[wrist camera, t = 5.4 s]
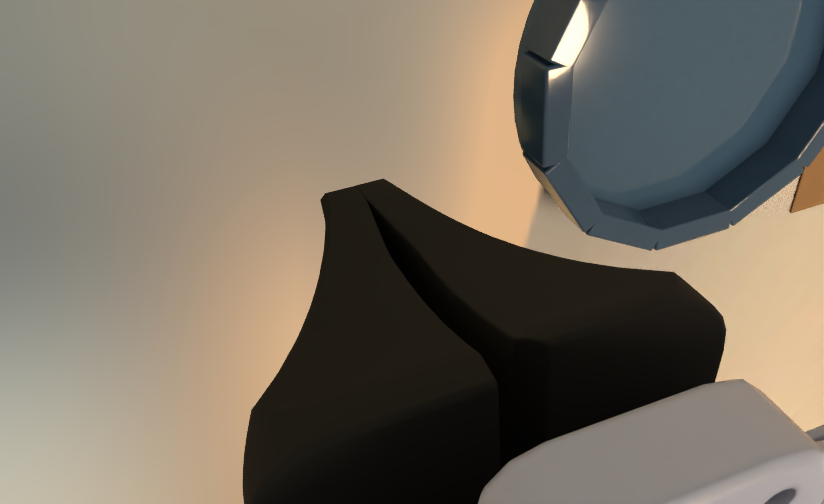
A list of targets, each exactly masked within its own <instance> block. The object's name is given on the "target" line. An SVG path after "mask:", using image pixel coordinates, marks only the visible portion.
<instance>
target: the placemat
mask: <svg viewBox="0 0 824 504" xmlns="http://www.w3.org/2000/svg"><path fill="white" fill-rule="evenodd" d="M823 203H824V147H823V148H822V150H821V151H820V152H819V154H818V155H817V156H816V158H815V159H814V160H813V162H812V163H811V165H810V166H809V167H804V172H803V173H802V176H801V179H800V183H799V186H798V189H797V192H796V196H795V199H794V202H793V205H792V209H791V212H790V213H793V212H797V211H800V210H803V209H806V208H810V207H813V206H816V205H819V204H823Z"/></svg>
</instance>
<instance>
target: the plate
mask: <svg viewBox="0 0 824 504" xmlns="http://www.w3.org/2000/svg"><path fill="white" fill-rule="evenodd" d="M513 98H514V113H515V122H516V127H517V132H518V137H519V142H520V144H521V148H522V150H523V156H524V157H525V159H526V161H527V163H528V164H529V166H530V168H531V170H532V171H533V173H534V175H535V177H536V178H537V179H538V181H539V182H540V183H541V184H542V186H543V187H544V188H545V189H546V190H547V192H549V194H550V195H551V197H552V198H553V200H554V201H555V203H556V204H557V205H558V207H559V208H560V210H561V211H562V212H563V213H564V214H565V215H566V216H567V217H568V218H569V219H570V220H571V221H572V222H573V223H574V224H575V225H576V226H577V227H578V228H579V229H580V230H581V231H583V232H585V233H586V234H587V235H590V236H594V237H598V238H602V239H606V240H610V241H614V242H618V243H622V244H626V245H630V246H634V247H638V248H642V249H646V250H650V251H651V250H652V249H654V250H660V249H663V248H667V247H670V246H673V245H676V244H680V243H683V242H686V241H690V240H693V239H696V238H699V237H703V236H706V235H709V234H712V233H716V232H719V231H722V230H726V229H728V228H729V225H730V224H731V225H732V226H734V225H735V224H737V223H738V222H739V221H741V220H742V219H743V218H745V217H746V216H747V215H748V214H750V213H751V212H752V211H754V210H755V209H756V208H758V207H759V206H760V205H762V204H763V203H764V202H765V201H767V200H768V199H769V198H771V197H772V196H773V195H775V194H776V193H777V192H779V191H780V190H781V189H783V188H784V187H785V186H786V185H788V184H789V183H790V182H792V181H793V180H794V179H796V178H797V177H798V176H800V175H801V174H802V173H803V172H804V170H803V166H804V167H809V166H810V165H811V163H812V162H813V160H814V159H815V158H816V156H817V155H818V154H819V152H820V151H821V150H822V148H823V147H824V0H534V3H533V5H532V7H531V10H530V12H529V15H528V18H527V21H526V24H525V28H524V31H523V34H522V38H521V41H520V45H519V51H518V56H517V62H516V68H515V77H514V95H513Z"/></svg>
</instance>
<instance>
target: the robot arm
mask: <svg viewBox="0 0 824 504" xmlns="http://www.w3.org/2000/svg"><path fill="white" fill-rule="evenodd" d="M321 204H322V209H323V213H324V218H325V224H326V225H325V226H326V229H325V244H324V253H323V259H322V264H321V269H320V275H319V279H318V283H317V287H316V290H315V294H314V297H313V301H312V303H311V306H310V309H309V312H308V314H307V317H306V319H305V322H304V324H303V327H302V329H301V331H300V333H299V336H298V338H297V340H296V342H295V344H294V346H293V347H292V349H291V351H290V353H289V354H288V356H287V358H286V360H285V362H284V363H283V365H282V367H281V369H280V370H279V372H278V374H277V375H276V377H275V378H274V380H273V381H272V382H271V384H270V385H269V387H268V388H267V389H266V391H265V392H264V394H263V395H262V397H261V398H260V399H259V401H258V402H257V403H256V405H255V406H254V407H253V409H252V411H251V415H250V420H249V426H248V432H247V438H246V446H245V453H244V464H243V496H244V504H824V425H822V426H819V427H817V428H814V429H812V430H809V431H807V432H804V431H803V430H802V429H801V428H800V427H799V426H798V425H797V424H796V423H795V422H794V421H793V420H792V419H790V418H789V417H788V416H787V415H786V414H785V413H784V412H783V411H782V410H781V409H780V408H779V407H778V406H777V405H776V404H775V403H774V402H773V401H771V400H770V399H769V398H768V397H767V396H766V395H765V394H764V393H763V392H762V391H761V390H760V389H758V388H756V387H755V386H753V385H751V384H749V383H748V382H746V381H744V380H743V379H742V380H728V381H721V382H715V379H716V376H717V372H718V369H719V365H720V361H721V358H722V354H723V351H724V343H725V336H726V327H725V323H724V319H723V316H722V315H721V314H720V313H719V312H718V310H717V309H716V308H715V307H714V306H713V305H712V304H711V303H710V302H709V301H707V300H706V299H705V298H704V297H703V296H702V295H701V294H699V293H698V292H697V291H696V290H695V289H694V288H693V287H691V286H690V285H689V284H688V283H687V282H686V281H684V280H683V279H682V278H681V277H679V276H678V275H677V274H676V273H674V272H666V271H654V270H641V269H629V268H618V267H611V266H605V265H598V264H592V263H586V262H580V261H575V260H570V259H565V258H561V257H557V256H553V255H549V254H545V253H541V252H537V251H533V250H530V249H527V248H523V247H520V246H517V245H514V244H511V243H508V242H506V241H503V240H500V239H497V238H494V237H491V236H489V235H487V234H484V233H482V232H479V231H477V230H475V229H473V228H471V227H468V226H466V225H464V224H462V223H460V222H458V221H456V220H454V219H452V218H450V217H448V216H446V215H444V214H442V213H440V212H438V211H437V210H435V209H433V208H431V207H430V206H428V205H426V204H424V203H423V202H421V201H419V200H418V199H416V198H414V197H412V196H411V195H409V194H408V193H406V192H404V191H403V190H401V189H400V188H398V187H396V186H395V185H393V184H392V183H390V182H388V181H387V180H385V179H380V180H376V181H372V182H368V183H365V184H360V185H356V186H353V187H349V188H345V189H341V190H337V191H333V192H329V193H325V194H324V196H323V197H322V199H321Z"/></svg>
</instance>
